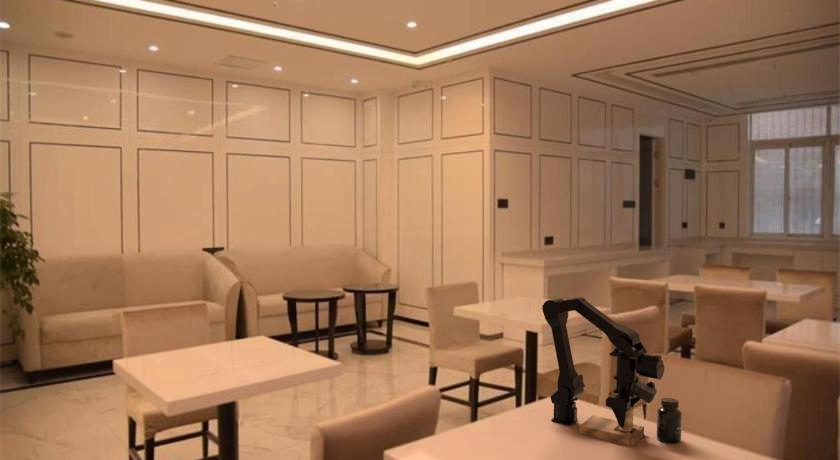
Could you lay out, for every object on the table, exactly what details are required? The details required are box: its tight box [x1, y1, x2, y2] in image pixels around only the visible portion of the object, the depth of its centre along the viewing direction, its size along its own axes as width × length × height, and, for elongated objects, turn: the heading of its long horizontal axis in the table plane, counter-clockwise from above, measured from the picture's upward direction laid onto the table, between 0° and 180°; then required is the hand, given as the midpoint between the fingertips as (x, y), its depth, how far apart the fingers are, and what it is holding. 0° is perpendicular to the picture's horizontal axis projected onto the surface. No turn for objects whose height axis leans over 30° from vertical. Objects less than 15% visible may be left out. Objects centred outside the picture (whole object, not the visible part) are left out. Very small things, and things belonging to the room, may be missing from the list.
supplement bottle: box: [656, 397, 683, 445], centre depth 177 cm, size 7×7×12 cm
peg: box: [617, 407, 634, 434], centre depth 178 cm, size 4×4×9 cm
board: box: [579, 415, 645, 447], centre depth 181 cm, size 16×11×2 cm
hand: (624, 423), depth 178 cm, fingers open, 6 cm apart
